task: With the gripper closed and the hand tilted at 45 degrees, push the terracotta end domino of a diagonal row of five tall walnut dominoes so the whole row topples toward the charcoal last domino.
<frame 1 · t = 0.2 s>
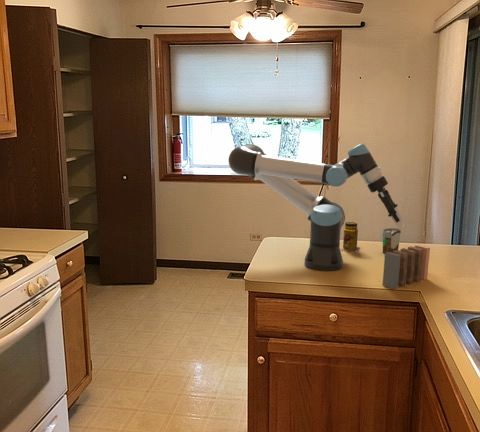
hand: (402, 225, 213), 16 cm above the counter, tool tilted 35°, fingers open, 13 cm apart
domino 1: (419, 277, 199), on the counter
domino 4: (397, 284, 190), on the counter
domino 3: (405, 282, 193), on the counter
food container: (387, 252, 233), on the counter
domino 5: (390, 286, 187), on the counter
condiment: (350, 249, 237), on the counter
domino 2: (412, 279, 196), on the counter
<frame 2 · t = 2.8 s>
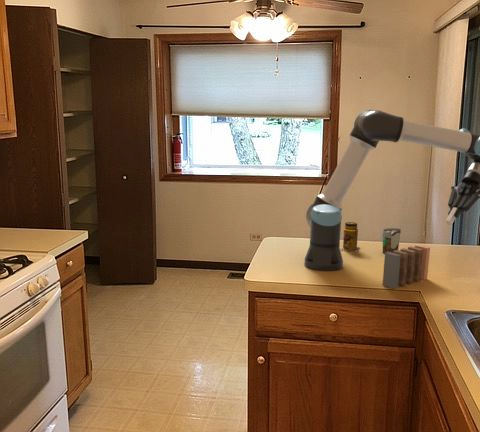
hand: (448, 222, 205), 19 cm above the counter, tool tilted 45°, fingers closed
nothing on the counter moved.
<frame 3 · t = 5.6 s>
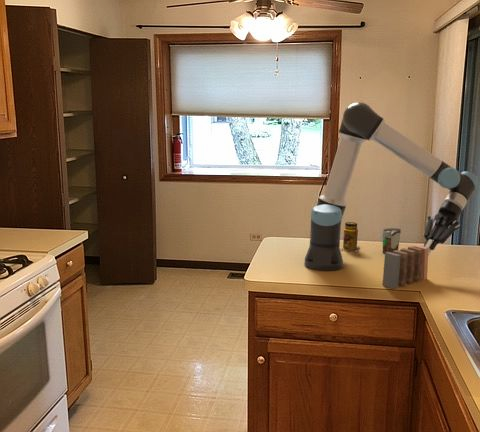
hand: (424, 255, 198), 8 cm above the counter, tool tilted 45°, fingers closed
domino 1: (419, 277, 199), on the counter, tilted 6°, touching gripper
everything else where it was.
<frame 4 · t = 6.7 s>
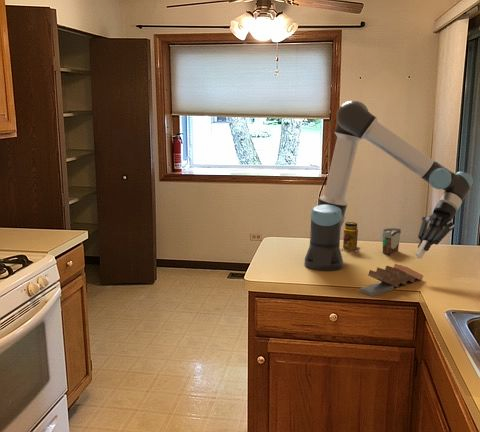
hand: (418, 256, 196), 9 cm above the counter, tool tilted 45°, fingers closed
domino 1: (416, 276, 197), point 1 cm above the counter, tilted 65°, touching domino 2
domino 4: (392, 283, 188), point 1 cm above the counter, tilted 64°, touching domino 3, domino 5
domino 3: (401, 280, 191), point 1 cm above the counter, tilted 64°, touching domino 2, domino 4
domino 5: (387, 286, 187), on the counter, tilted 90°, touching domino 4
domino 2: (408, 278, 194), point 1 cm above the counter, tilted 65°, touching domino 1, domino 3
everything else where it was.
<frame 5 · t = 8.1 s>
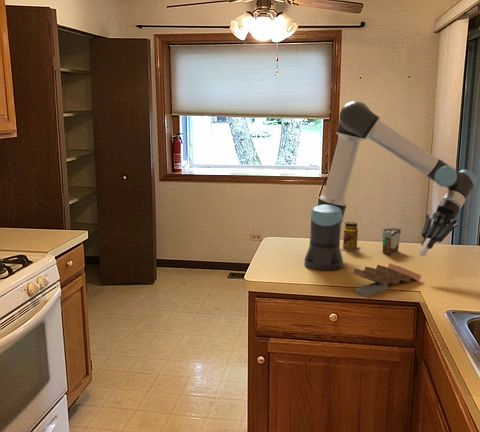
hand: (421, 254, 197), 9 cm above the counter, tool tilted 45°, fingers closed
domino 1: (415, 276, 196), point 1 cm above the counter, tilted 67°, touching domino 2
domino 4: (384, 281, 188), point 1 cm above the counter, tilted 68°, touching domino 3, domino 5
domino 3: (394, 280, 191), point 1 cm above the counter, tilted 67°, touching domino 2, domino 4
domino 5: (381, 286, 186), on the counter, tilted 90°, touching domino 4
domino 2: (406, 278, 193), point 1 cm above the counter, tilted 67°, touching domino 1, domino 3
everything else where it was.
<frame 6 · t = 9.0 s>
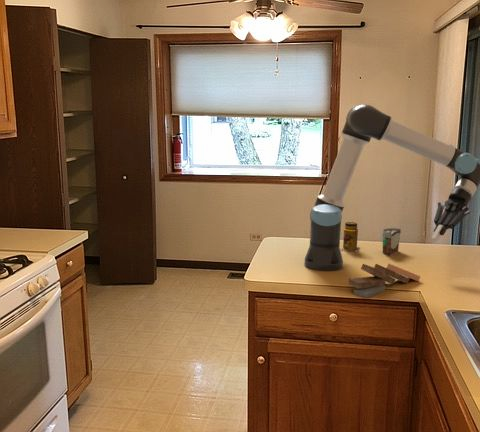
hand: (433, 240, 201), 13 cm above the counter, tool tilted 45°, fingers closed
domino 4: (379, 280, 187), point 2 cm above the counter, tilted 87°, touching domino 3, domino 5
domino 3: (389, 279, 190), point 2 cm above the counter, tilted 62°, touching domino 4
domino 5: (379, 287, 186), on the counter, tilted 90°, touching domino 4
domino 2: (404, 279, 193), point 1 cm above the counter, tilted 65°, touching domino 1
everything else where it was.
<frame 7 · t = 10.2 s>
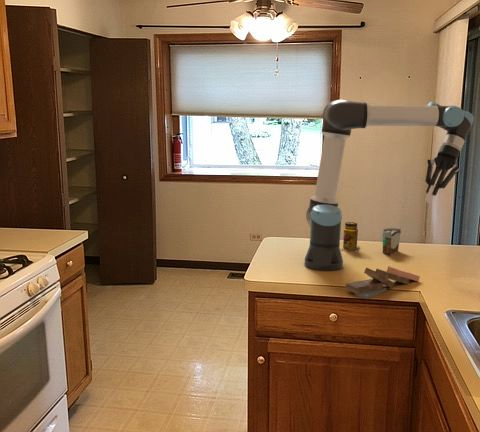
hand: (427, 201, 209), 26 cm above the counter, tool tilted 30°, fingers closed
domino 4: (377, 283, 184), point 2 cm above the counter, tilted 90°, touching domino 3
domino 3: (387, 283, 188), point 1 cm above the counter, tilted 60°, touching domino 2, domino 4
domino 5: (379, 288, 185), on the counter, tilted 90°
domino 2: (403, 279, 192), point 1 cm above the counter, tilted 71°, touching domino 1, domino 3
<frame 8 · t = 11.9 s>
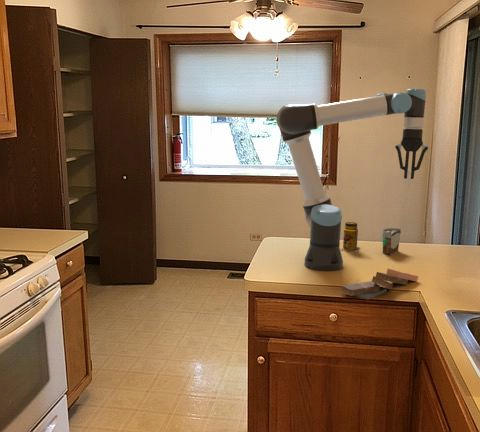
hand: (408, 186, 218), 30 cm above the counter, tool pointing down, fingers closed
domino 4: (375, 286, 181), point 2 cm above the counter, tilted 90°
domino 3: (385, 284, 185), point 1 cm above the counter, tilted 69°, touching domino 2
domino 2: (401, 280, 192), point 1 cm above the counter, tilted 73°, touching domino 1, domino 3
at the end: domino 5 tilted 90°; domino 3 tilted 71° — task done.
